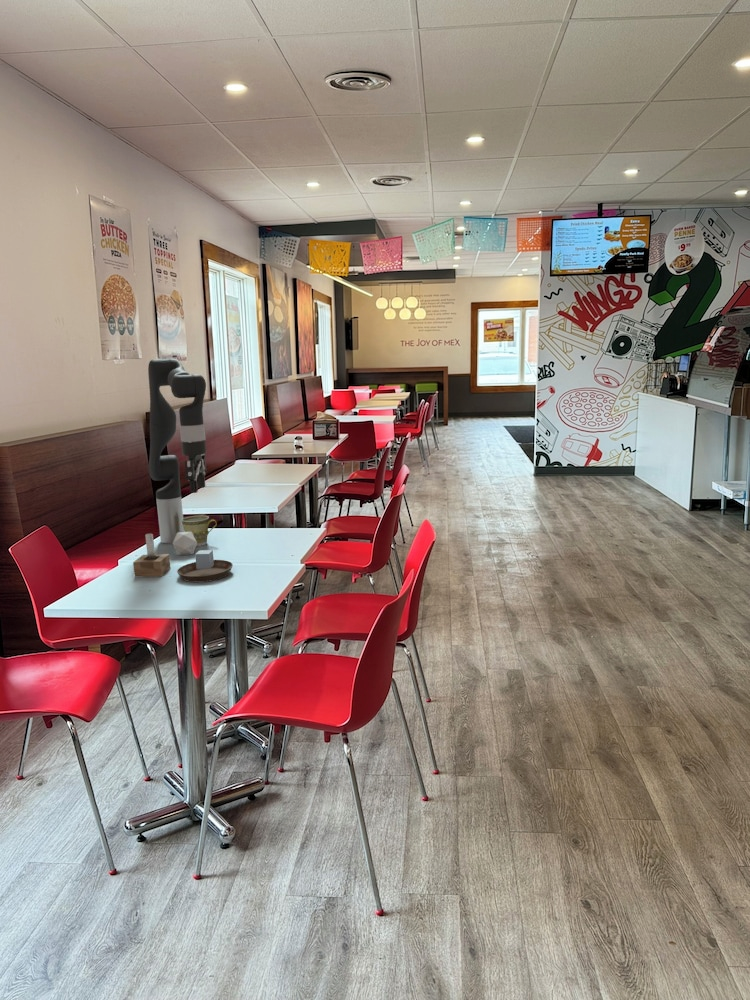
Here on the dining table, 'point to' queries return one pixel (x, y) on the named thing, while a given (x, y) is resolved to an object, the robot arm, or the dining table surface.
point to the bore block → (151, 566)
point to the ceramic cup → (198, 527)
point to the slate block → (204, 559)
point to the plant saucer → (205, 571)
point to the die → (184, 543)
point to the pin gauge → (150, 546)
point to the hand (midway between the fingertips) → (198, 490)
